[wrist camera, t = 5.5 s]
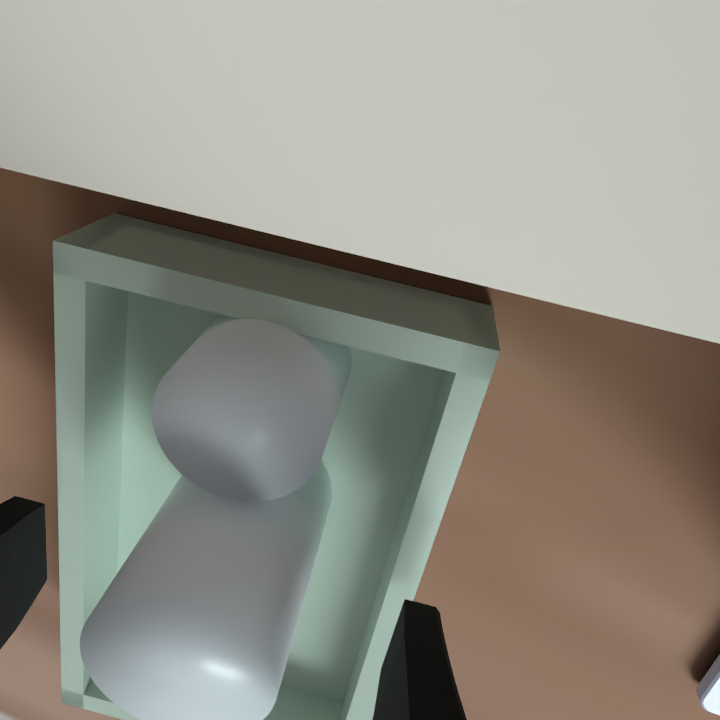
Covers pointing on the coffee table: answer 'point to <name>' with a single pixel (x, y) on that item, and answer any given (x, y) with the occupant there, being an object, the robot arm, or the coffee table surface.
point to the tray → (363, 454)
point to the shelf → (401, 132)
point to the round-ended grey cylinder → (207, 605)
